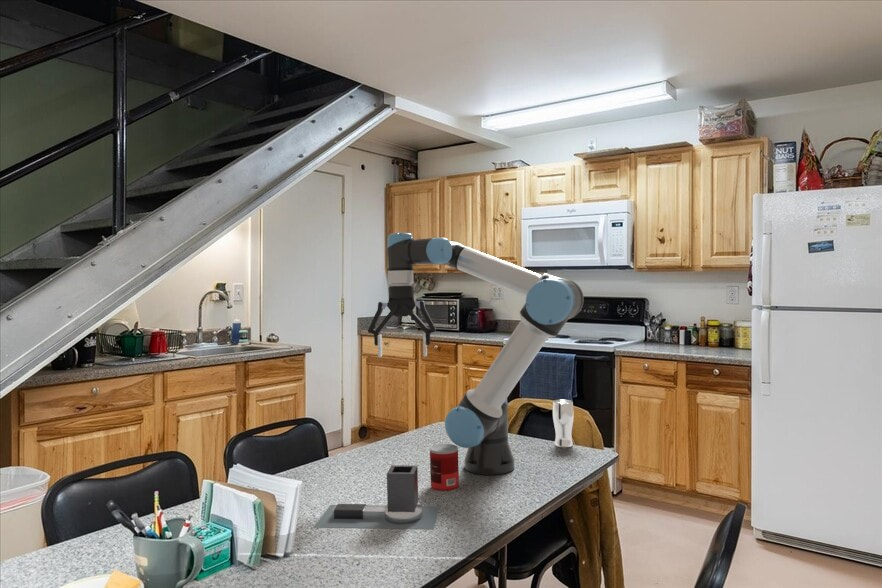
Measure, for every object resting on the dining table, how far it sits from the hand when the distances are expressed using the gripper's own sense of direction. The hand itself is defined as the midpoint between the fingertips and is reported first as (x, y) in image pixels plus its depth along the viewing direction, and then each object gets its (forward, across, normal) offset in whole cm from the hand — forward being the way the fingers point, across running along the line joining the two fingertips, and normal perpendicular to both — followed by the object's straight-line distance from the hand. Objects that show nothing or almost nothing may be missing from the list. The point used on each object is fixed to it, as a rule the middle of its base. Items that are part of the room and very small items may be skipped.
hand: (402, 356), depth 177 cm
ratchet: (+34, +1, +35) cm, 49 cm away
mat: (+35, +1, +35) cm, 49 cm away
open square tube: (+32, -5, +35) cm, 48 cm away
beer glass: (+35, -50, -30) cm, 68 cm away
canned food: (+35, -13, +13) cm, 39 cm away
